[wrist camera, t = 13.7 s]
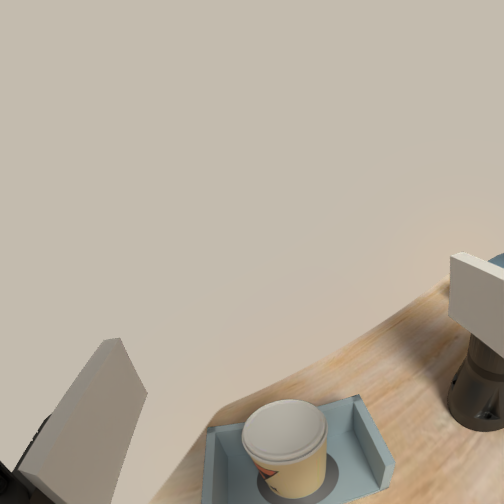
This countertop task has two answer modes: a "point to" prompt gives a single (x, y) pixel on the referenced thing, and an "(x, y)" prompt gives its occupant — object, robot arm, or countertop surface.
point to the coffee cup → (288, 446)
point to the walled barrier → (337, 462)
